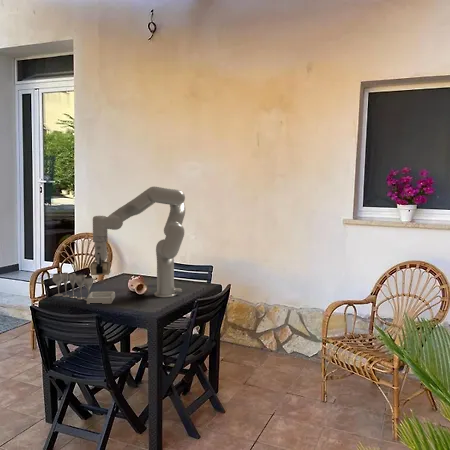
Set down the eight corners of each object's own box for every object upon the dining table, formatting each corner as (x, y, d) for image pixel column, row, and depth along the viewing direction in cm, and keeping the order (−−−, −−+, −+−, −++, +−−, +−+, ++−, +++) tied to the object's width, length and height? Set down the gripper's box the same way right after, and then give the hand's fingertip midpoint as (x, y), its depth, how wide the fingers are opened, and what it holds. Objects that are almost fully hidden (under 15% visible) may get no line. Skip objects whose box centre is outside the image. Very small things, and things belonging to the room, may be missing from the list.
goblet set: (96, 298, 246) (95, 274, 245) (88, 301, 241) (87, 276, 240) (59, 293, 259) (57, 270, 258) (51, 295, 254) (49, 272, 253)
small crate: (110, 272, 248) (110, 261, 247) (108, 274, 241) (108, 263, 240) (93, 272, 247) (93, 261, 246) (90, 275, 240) (90, 263, 240)
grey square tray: (114, 297, 252) (114, 291, 252) (111, 303, 240) (111, 297, 240) (91, 297, 251) (91, 291, 251) (86, 303, 239) (86, 297, 238)
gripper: (104, 241, 234) (105, 275, 236) (110, 236, 251) (110, 268, 253) (89, 241, 233) (90, 275, 235) (96, 236, 250) (96, 269, 252)
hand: (100, 271), depth 244 cm, fingers closed on small crate, 6 cm apart
